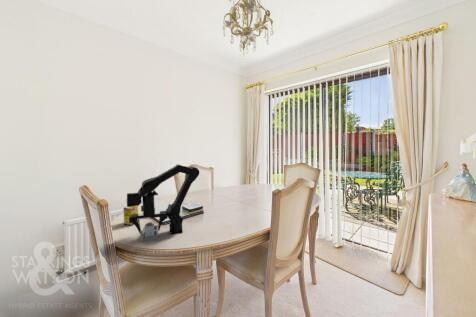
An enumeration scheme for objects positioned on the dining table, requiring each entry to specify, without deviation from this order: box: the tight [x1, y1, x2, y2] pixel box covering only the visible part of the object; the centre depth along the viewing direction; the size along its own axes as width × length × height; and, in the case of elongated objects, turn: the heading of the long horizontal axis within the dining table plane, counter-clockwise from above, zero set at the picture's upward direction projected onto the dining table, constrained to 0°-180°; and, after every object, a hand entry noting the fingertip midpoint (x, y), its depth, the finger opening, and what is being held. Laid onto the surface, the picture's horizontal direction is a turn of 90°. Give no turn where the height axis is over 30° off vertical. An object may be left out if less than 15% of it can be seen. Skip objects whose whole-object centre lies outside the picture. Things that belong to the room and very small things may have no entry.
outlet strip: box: [139, 224, 159, 242], centre depth 117 cm, size 9×15×2 cm, turn 19°
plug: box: [144, 221, 156, 238], centre depth 113 cm, size 4×4×8 cm
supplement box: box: [123, 206, 139, 227], centre depth 130 cm, size 6×6×11 cm
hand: (149, 231), depth 113 cm, fingers open, 9 cm apart
